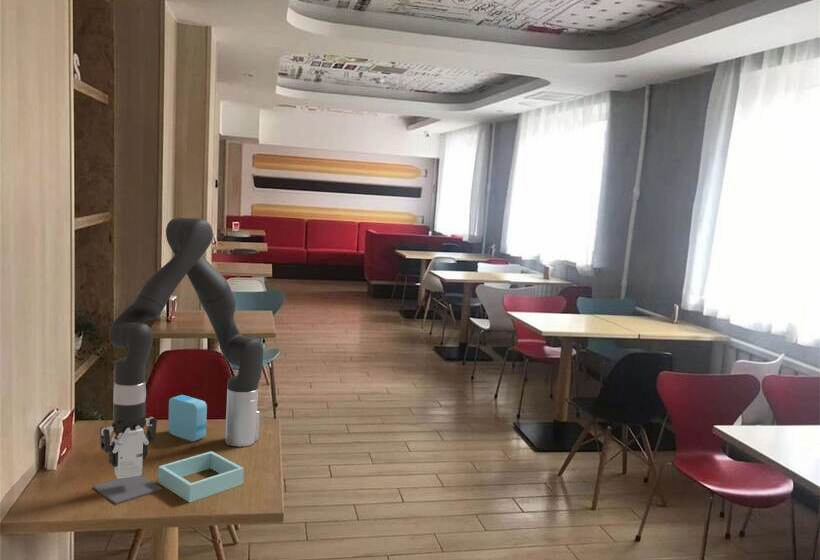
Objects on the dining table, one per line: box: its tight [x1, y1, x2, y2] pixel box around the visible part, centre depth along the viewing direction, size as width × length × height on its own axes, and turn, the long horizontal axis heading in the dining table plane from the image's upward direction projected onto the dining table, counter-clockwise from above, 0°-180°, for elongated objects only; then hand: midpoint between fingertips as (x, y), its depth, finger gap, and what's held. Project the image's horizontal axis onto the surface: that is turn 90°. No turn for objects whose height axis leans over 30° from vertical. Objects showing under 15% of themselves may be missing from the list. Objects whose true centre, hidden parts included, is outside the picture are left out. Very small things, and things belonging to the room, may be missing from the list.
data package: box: [167, 394, 208, 442], centre depth 206 cm, size 12×4×12 cm, turn 61°
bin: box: [157, 450, 245, 503], centre depth 175 cm, size 16×15×4 cm
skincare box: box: [114, 428, 145, 479], centre depth 168 cm, size 6×4×12 cm
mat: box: [92, 475, 163, 505], centre depth 169 cm, size 12×12×1 cm
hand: (128, 461), depth 168 cm, fingers closed on skincare box, 7 cm apart
